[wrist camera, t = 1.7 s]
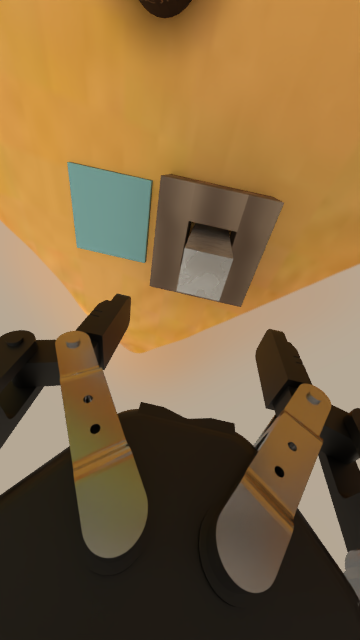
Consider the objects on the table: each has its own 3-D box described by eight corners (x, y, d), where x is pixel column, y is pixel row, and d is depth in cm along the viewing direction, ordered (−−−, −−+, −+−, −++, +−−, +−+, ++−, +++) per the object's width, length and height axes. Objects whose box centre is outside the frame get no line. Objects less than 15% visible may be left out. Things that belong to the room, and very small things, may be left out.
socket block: (273, 197, 24) (284, 202, 20) (237, 289, 31) (240, 306, 27) (170, 174, 24) (161, 175, 20) (158, 270, 32) (149, 285, 28)
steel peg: (227, 226, 27) (233, 259, 17) (218, 256, 29) (219, 301, 19) (196, 219, 27) (184, 247, 17) (190, 250, 29) (176, 291, 19)
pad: (152, 180, 25) (151, 180, 25) (145, 261, 31) (144, 262, 30) (70, 162, 25) (67, 162, 25) (79, 246, 31) (77, 247, 31)
